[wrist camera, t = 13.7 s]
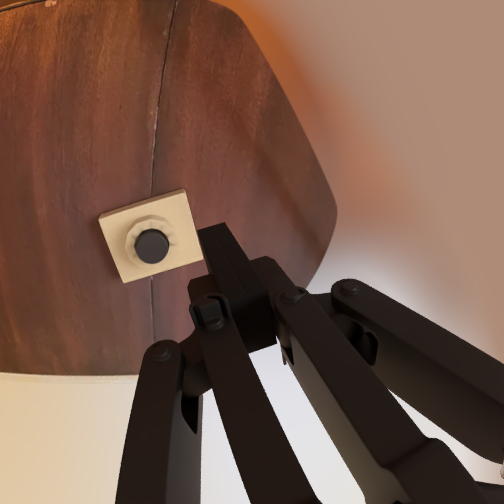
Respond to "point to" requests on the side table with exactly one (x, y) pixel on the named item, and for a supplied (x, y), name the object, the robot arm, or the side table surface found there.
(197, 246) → the doorbell
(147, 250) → the bell button
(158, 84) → the side table surface
